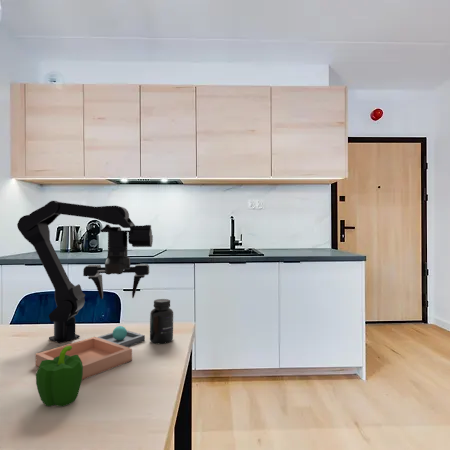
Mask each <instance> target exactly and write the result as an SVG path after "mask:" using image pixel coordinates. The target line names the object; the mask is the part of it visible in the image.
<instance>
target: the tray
mask: <svg viewBox="0 0 450 450" xmlns="http://www.w3.org/2000/svg"><path fill="white" fill-rule="evenodd" d="M96 337H97V338H100V339H104V340H107V341H110V342H113V343H116V344H119V345H122V346H125V347H128V348H129V347H131V346H133V345H136V344H139V343H142V342H144V341H145V338H146V336H145V334H141V333H137V332H134V331H130V330H127V335H126V337H125V338H124V339H123V340H116V339H114V337H113V332H110V333H107V334H104V335H103V334H102V335H99V336H96Z"/></svg>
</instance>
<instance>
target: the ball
mask: <svg viewBox="0 0 450 450" xmlns="http://www.w3.org/2000/svg"><path fill="white" fill-rule="evenodd" d="M127 331H128V330H127V329H126V327H124V325H123V326H122V325H119V326H116V327H115V328H114V329H113V331H112V333H113V337H114V339H116V340H123V339H124V338H125V337H126V335H127Z"/></svg>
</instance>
